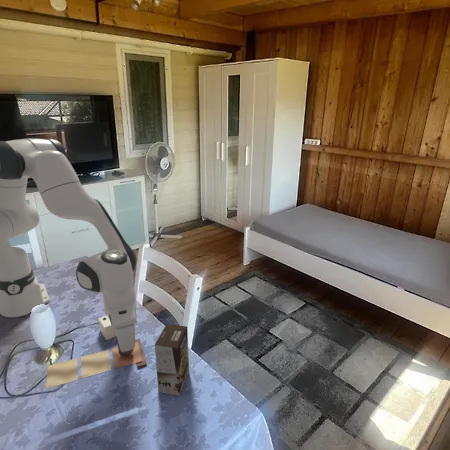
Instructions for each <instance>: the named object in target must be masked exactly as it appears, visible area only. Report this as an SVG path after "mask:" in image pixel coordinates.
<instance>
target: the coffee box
mask: <svg viewBox="0 0 450 450" xmlns="http://www.w3.org/2000/svg"><path fill="white" fill-rule="evenodd" d="M188 335H189V333H188V326H185V325H176V324H169V323H167V324H165V326H164V328H163V330H162V331H161V333H160V335H159V337H158V338H157V340H156V341H155V343H154V350H155V351H154V353H155V354H154V355H155V366H156V367H155V368H156V377H157V379H156V380H157V392H158V393H163V394H167V395H173V396H177V397H178V396H180V395H181V392H182V390H183V388H184V385H185V382H186V380H187V377H188V375H189V372H190V364H189V363H190V359H189V336H188Z"/></svg>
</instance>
